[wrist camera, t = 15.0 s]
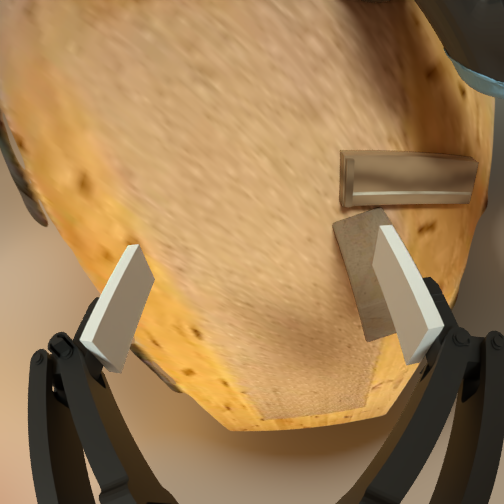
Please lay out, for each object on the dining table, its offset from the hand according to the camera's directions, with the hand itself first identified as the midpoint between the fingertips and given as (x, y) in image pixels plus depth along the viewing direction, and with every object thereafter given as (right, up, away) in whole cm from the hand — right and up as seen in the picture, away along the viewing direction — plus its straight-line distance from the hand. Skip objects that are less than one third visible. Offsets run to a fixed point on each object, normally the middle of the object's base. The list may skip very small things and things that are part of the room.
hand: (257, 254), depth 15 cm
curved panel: (+28, +14, +27) cm, 41 cm away
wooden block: (+21, +4, +36) cm, 41 cm away
